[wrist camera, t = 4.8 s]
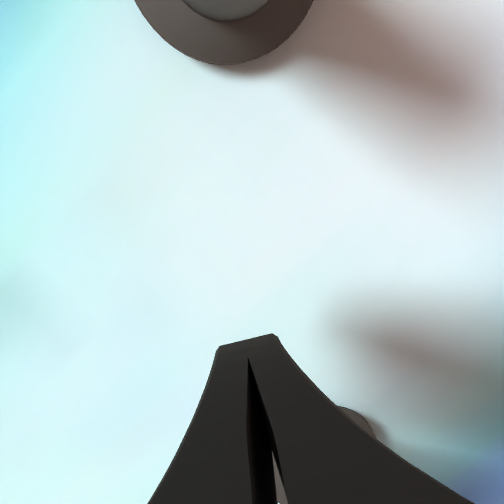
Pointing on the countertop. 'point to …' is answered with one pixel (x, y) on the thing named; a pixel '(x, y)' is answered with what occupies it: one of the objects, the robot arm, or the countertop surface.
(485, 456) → the countertop surface
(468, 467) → the countertop surface
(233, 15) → the post
